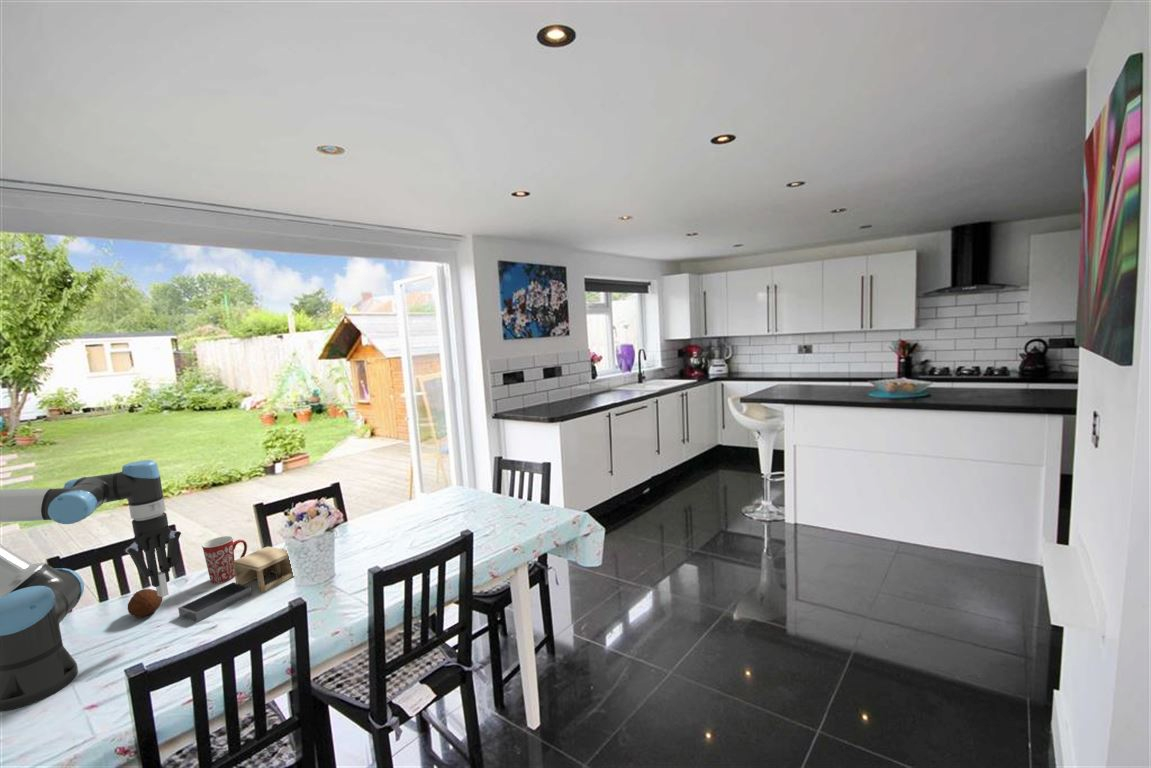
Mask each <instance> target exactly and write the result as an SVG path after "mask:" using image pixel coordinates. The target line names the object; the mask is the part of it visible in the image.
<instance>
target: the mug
mask: <svg viewBox="0 0 1151 768" xmlns="http://www.w3.org/2000/svg"><path fill="white" fill-rule="evenodd" d="M233 540H234V537H233V536H232V535H225V536H224V535H223V536H219V537H213V538H212V539H208V540H207V541H204V542H203V543H202V544H201V548H202V551H203V555H204V560H205V562H206V567H207V571H208V576H209V580H210V583H212V584H221V583H225V582H227V581H230V580H232V579H234V578H235V573H234V566H233V561H235V560H236V559H235V552H234V551H235V549H236V547H237V545H238V544H239V543H242V544H243V551H242V553H241V555H240V557H239V558H242V557H244V556H246V555H247V551H248V544H247V542H246V541H245V540H244V539H237V540H235V541H233Z"/></svg>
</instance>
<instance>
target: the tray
mask: <svg viewBox="0 0 1151 768" xmlns="http://www.w3.org/2000/svg"><path fill="white" fill-rule="evenodd" d="M251 596H252V590H251V587H250V586H248V585H244V584H243V585H241V584H237V583H236V582H233V581H232V582H231V583H229V584H226V585H224V586H223V587H220V588H218V589H216V590H214V591H211V592H209V593H207V594H205V595H203V596H200V597H199V598H196V599H194V600H192V601H190V602H188V603H186V604H184V605H181V606H179V607H177V608H178V614H179V617H180V618H183V619H187V620H189V621H191V622H193V623H199V622H200V621H203V620H205V619H207V618H209V617H210V616H212V615H215V614H217V613H219V612H221V611H223V610H224V609H226V608H228V607H231V606H232V605H235V604H237V603H239V602H241V601H243V600H245V599H247V598H248V597H251Z"/></svg>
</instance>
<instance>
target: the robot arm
mask: <svg viewBox="0 0 1151 768" xmlns="http://www.w3.org/2000/svg"><path fill="white" fill-rule="evenodd" d="M121 469H122V470H121V471H118V472H114V473H107V474H101V475H93V476H83V477H80V478H76V479H75V478H74V479H70V480H68V481H66V482H65V483H64V486H63V487H62V488H61V487H59V488H58V487H57V488H50V487H49V488H12V489H11V488H10V489H9V488H7V489H6V488H5V489H4V488H3V489H2V488H1V489H0V523H11V522H14V523H16V522H35V521H53V522H56V523H58V524H61V525H73V524H76V523H78V522H81V521H83V520H85V519H86V518H88V517H90V516H91V515H92V514H93V513H94V511H96V510H97V509H98V508H99V507H101V506H102V505H104V504H106V503H111V502H116V501H123V500H127V502H128V503H127V504H128V509H129V513H130V519H132V521H131V524H132V531H133V535H134V538H133V539H132V540H133V542H132V543H131V544H130V546H127V547H125V548H124V549H123V551H124V552H125V554H128V555H129V556H130V558H131V560H132V562H133V563H134V565H135V567H136V569H137V570H138V572H139V574H140V576H142V577H145V578H149V577H150V578H149V579H150V583H151V584H150V585H151V586H152V587H154V588H155V589H156V591H157V595H158V596H161V597H163V598H164V597H166V596H169V589H168V584H167V583H168V582H170V580H171V578H170V573H169V572H170V571H171V568H174V567H175V566H176V564H177V563H176V561H177V555H178V553H177V552H178V544H179V539H180V537H181V535H182V532H181V531H178V530H172V529H171V528H170V527H169V522H168V520H169V519H168V516H167V512H166V504H165V499H164V498H165V497H164V494H163V493H164V492H163V487H162V481H161V474H160V470H159V466H158V463H157V462H156V461H155V460H152V459H144V460H137V461H132V462H128V463H126V464H124V465H123V466H122V467H121ZM167 540H168V542H167ZM166 542H167V543H168V544H167V546H166ZM139 548H141V549H143V552H144V554H145V561H146V562H145V561H144V560H143V557H142V555H141V554H140V552H139ZM166 548H167V551H166ZM157 562H158V564H157ZM158 568H159V569H158ZM84 589H85V584H84V580H83V578H82V576H81V575H80V574H79V573H78V572H76V571H75V570H72V569H70V568H63V567H62V568H61V567H60V568H57V567H56V568H53V567H52V566H51V565H49V564H47V563H46V562H39V563H31V562H30V561H28V560H27V559H25V558H23V557H21V556H20V555H18V554H17V553H16V552H14V551H12V550H11V549H9V548H7V547H5V546H4V545H2V544H1V543H0V712H2V711H9V710H14V709H18V708H21V707H25V706H29V705H30V704H33V703H36V702H38V701H41V700H43V699H45V698H47V697H49V696H51V695H53V694H55V693H56V692H59V691H60V690H62V689H63V688H65V687H66V686H67V685H69V684H70V683H71V682H72V681H74V680H75V679H76V677H77V676H78V674H79V669H78V664H77V662H76V660H75V658H73V656H72V655H71V654H70V653H69V651H68V650H67V649H66V647H64V643H63V639H62V633H61V627H60V624H61V622H63V620H64V619H65V617H67V616H68V614H69V613H70V611H72V610H74V608H75V607H76V606H77V605H78V604H79V602H80V600H81V598H82V596H83V593H84Z"/></svg>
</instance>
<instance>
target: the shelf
mask: <svg viewBox="0 0 1151 768" xmlns="http://www.w3.org/2000/svg"><path fill="white" fill-rule="evenodd" d="M287 551H288V550H286V549H283V548H282V549H281V548H277V547H274V546H273V547H272V546H270V545H268V546H264V547H263V548H259V549H258V550H256V551H253V552H251V553H249V554H245V556H244V557H242V558H240V557H239V558H237V559H234V560H235V561H233V566H234V573H235V577H234V578H235V583H237V584H241V585H244V584H247V583H249V582H251V581H253V580H255V579H257V584H258V586H257V587H258V591H259V594H263V593H265V592H266V591H267V590H270V589H271V588H274V587H276V586H277V585H280V584H281V583H283V582H285V581H287V580H289V579H291V578H294V577H293V572H292V568H291V564H290V560H289V556H288V553H287ZM271 573H275V575H276V579H274V580H272V581H271V582H268V583H266V584H265V579H264V578H269V577H271Z"/></svg>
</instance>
